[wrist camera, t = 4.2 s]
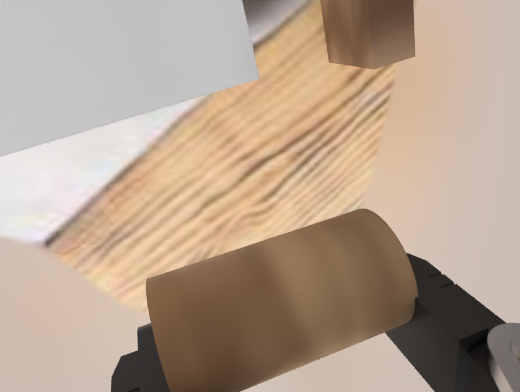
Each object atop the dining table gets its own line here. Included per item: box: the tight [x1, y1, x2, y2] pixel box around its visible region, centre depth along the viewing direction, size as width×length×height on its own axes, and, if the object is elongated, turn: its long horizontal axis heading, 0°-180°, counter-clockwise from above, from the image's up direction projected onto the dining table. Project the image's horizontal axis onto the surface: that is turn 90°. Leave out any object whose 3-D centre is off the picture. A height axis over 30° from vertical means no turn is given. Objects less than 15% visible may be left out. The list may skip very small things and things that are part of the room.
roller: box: [146, 209, 418, 392], centre depth 9 cm, size 6×3×3 cm
